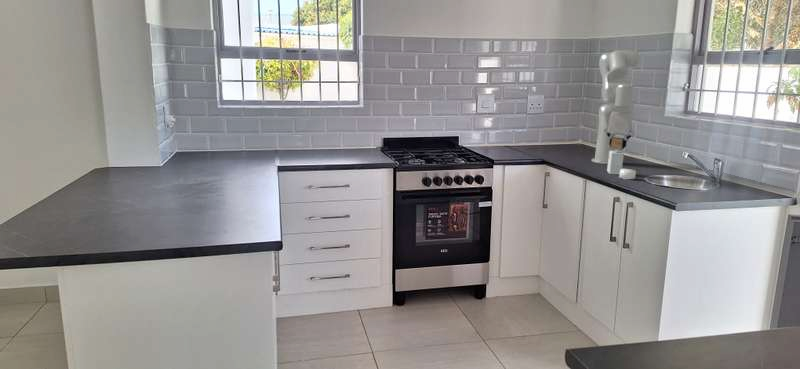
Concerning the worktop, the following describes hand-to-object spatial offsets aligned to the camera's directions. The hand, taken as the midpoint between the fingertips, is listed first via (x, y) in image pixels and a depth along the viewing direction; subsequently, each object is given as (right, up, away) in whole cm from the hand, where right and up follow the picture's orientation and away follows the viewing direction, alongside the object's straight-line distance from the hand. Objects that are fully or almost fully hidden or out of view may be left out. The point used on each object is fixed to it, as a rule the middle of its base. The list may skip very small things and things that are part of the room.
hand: (617, 147), depth 275 cm
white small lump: (+1, -15, -9) cm, 18 cm away
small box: (-1, -13, +3) cm, 13 cm away
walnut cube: (0, -1, 0) cm, 1 cm away
